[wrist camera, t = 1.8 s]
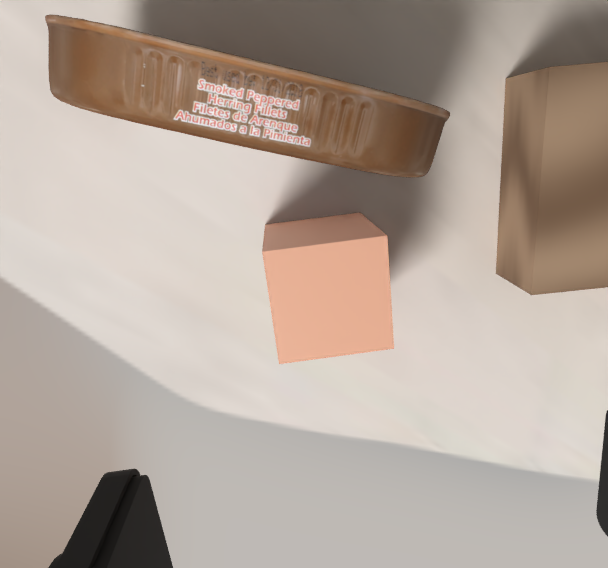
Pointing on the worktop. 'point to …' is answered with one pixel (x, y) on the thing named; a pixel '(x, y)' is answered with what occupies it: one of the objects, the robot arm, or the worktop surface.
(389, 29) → the worktop surface
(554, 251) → the walnut base
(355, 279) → the salmon pink block
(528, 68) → the worktop surface
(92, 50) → the tin
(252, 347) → the worktop surface
